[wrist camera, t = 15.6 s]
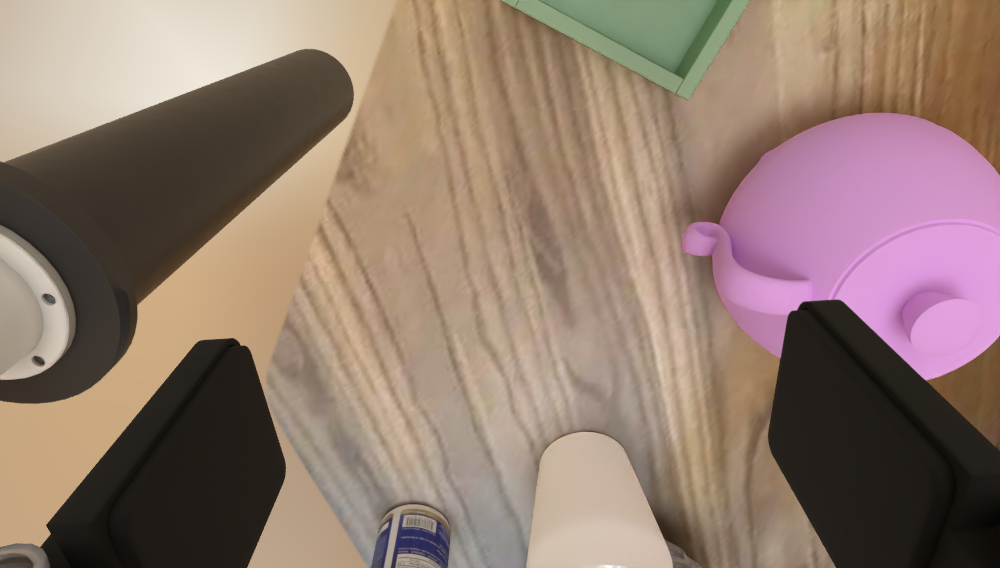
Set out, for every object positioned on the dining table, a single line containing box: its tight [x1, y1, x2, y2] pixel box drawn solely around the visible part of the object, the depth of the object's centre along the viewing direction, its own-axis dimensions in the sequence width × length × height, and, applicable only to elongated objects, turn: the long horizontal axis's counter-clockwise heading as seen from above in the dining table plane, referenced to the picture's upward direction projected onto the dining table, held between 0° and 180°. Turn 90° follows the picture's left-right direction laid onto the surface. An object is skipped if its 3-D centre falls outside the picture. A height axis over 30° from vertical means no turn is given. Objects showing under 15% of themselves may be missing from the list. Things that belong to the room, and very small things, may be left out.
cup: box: [526, 432, 673, 568], centre depth 40 cm, size 9×9×12 cm
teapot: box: [681, 113, 1000, 380], centre depth 31 cm, size 20×14×12 cm
